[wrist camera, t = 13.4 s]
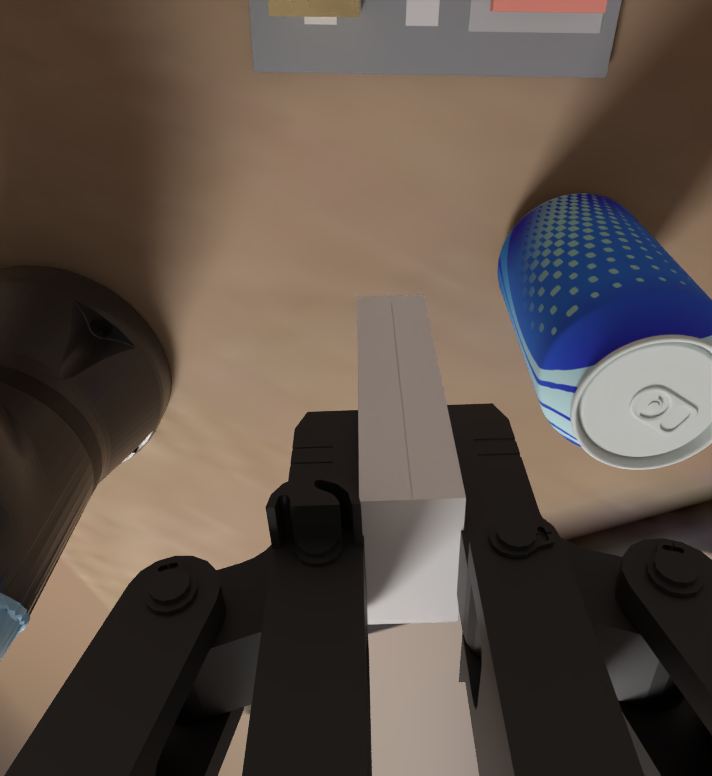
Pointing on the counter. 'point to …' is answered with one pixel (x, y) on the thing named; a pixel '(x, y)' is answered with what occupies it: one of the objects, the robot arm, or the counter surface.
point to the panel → (435, 40)
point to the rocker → (549, 6)
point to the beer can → (610, 332)
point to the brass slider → (315, 8)
